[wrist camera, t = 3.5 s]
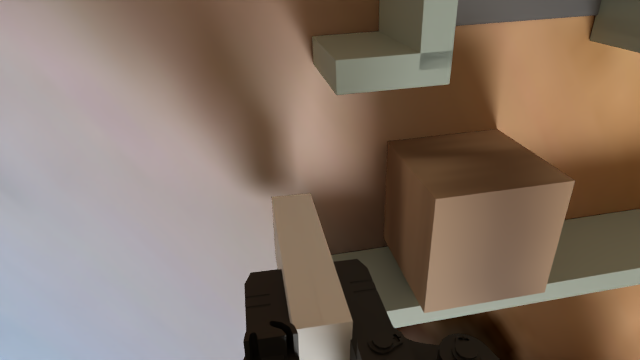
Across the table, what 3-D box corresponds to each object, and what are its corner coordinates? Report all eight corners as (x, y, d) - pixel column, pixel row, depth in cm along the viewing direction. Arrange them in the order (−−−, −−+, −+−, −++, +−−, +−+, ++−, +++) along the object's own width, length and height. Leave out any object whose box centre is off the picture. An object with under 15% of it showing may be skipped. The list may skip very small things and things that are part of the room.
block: (383, 237, 21) (424, 313, 16) (387, 140, 18) (435, 199, 14) (480, 223, 21) (544, 292, 17) (495, 128, 19) (575, 180, 15)
